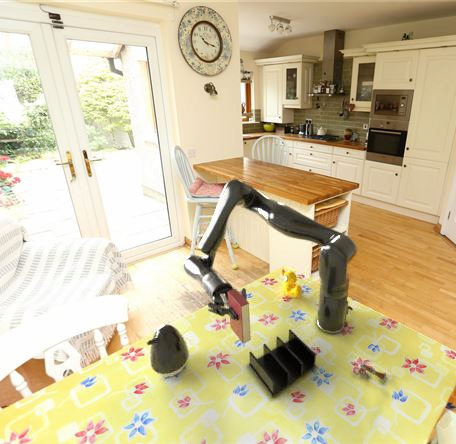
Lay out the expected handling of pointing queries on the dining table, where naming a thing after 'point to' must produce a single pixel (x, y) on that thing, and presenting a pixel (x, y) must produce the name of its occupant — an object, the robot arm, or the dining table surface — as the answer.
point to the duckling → (291, 284)
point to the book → (240, 315)
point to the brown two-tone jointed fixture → (372, 371)
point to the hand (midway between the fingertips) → (242, 315)
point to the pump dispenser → (168, 351)
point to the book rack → (283, 363)
